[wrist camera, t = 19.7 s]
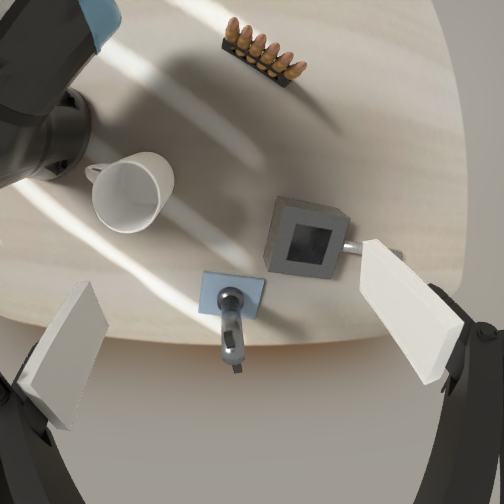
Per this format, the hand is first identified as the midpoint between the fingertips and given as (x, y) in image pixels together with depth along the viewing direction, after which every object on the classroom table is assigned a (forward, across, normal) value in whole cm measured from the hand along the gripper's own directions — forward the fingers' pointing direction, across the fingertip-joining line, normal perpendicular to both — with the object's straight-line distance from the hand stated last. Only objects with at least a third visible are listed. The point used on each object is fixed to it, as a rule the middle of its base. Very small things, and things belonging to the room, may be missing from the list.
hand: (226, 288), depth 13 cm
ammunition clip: (+31, +7, +16) cm, 35 cm away
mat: (+30, -2, -21) cm, 37 cm away
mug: (+31, -12, +2) cm, 33 cm away
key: (+30, -2, -21) cm, 36 cm away
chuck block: (+30, +17, -13) cm, 37 cm away
